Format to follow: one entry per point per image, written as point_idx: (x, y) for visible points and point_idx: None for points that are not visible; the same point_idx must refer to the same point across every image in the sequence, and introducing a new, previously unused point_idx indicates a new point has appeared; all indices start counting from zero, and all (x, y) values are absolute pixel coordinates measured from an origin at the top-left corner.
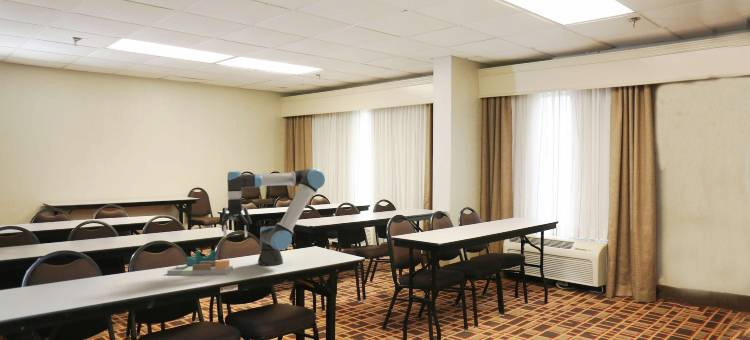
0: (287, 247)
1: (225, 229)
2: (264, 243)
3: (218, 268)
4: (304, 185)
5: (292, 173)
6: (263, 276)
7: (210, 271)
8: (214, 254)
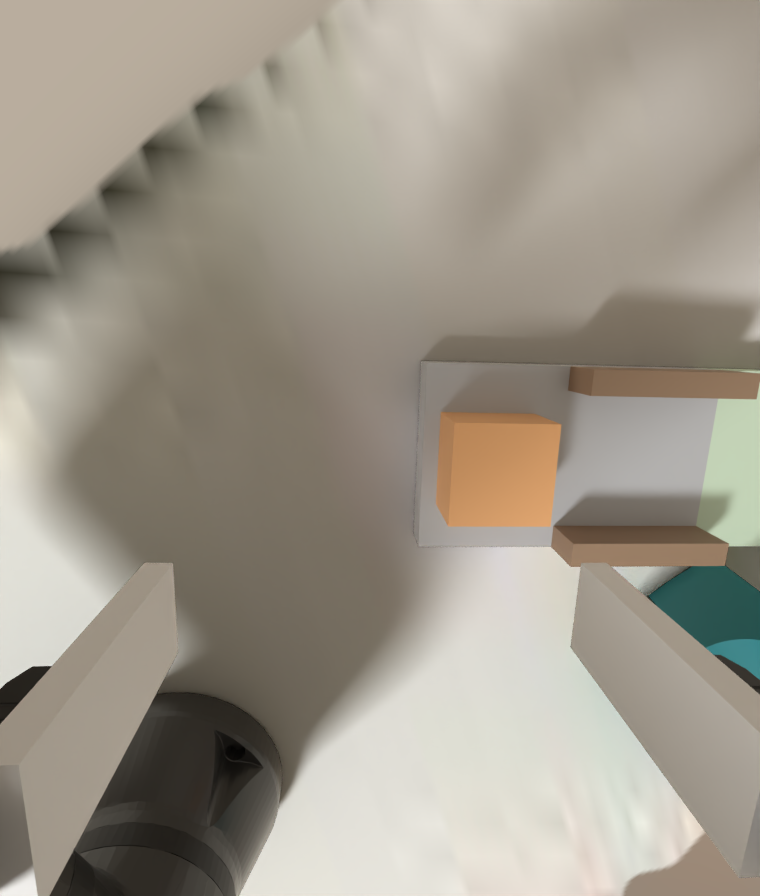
0: None
1: (672, 709)
2: None
3: (510, 414)
4: None
5: None
6: (53, 261)
7: (562, 365)
8: None
